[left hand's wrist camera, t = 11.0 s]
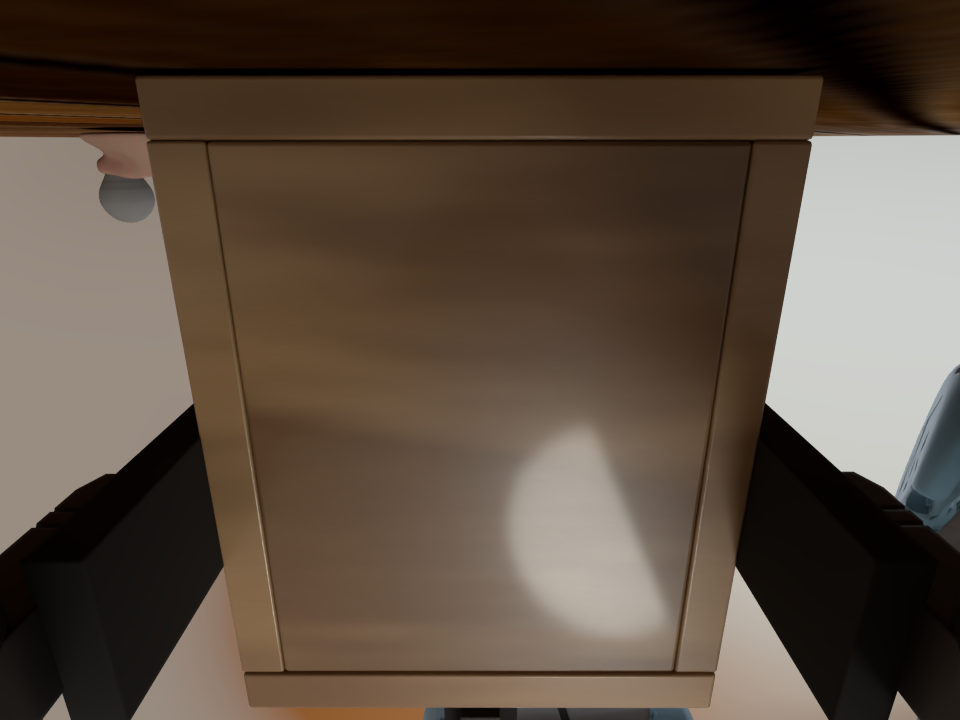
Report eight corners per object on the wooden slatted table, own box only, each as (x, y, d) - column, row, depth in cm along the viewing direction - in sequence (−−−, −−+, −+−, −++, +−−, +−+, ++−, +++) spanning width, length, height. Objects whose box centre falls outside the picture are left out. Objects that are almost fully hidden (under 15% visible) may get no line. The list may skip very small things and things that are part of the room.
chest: (603, 118, 23) (586, 378, 27) (357, 118, 23) (374, 378, 27) (827, 73, 8) (717, 673, 12) (131, 74, 8) (241, 672, 12)
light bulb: (131, 137, 69) (147, 224, 73) (151, 138, 75) (165, 219, 78) (76, 137, 68) (95, 225, 72) (101, 138, 74) (117, 219, 77)
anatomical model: (76, 201, 36) (274, 195, 40) (60, 131, 34) (267, 132, 39) (108, 187, 47) (260, 184, 52) (97, 134, 46) (254, 135, 50)
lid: (584, 375, 27) (574, 526, 30) (376, 375, 27) (386, 526, 30) (717, 675, 12) (671, 924, 15) (242, 674, 12) (288, 923, 15)
